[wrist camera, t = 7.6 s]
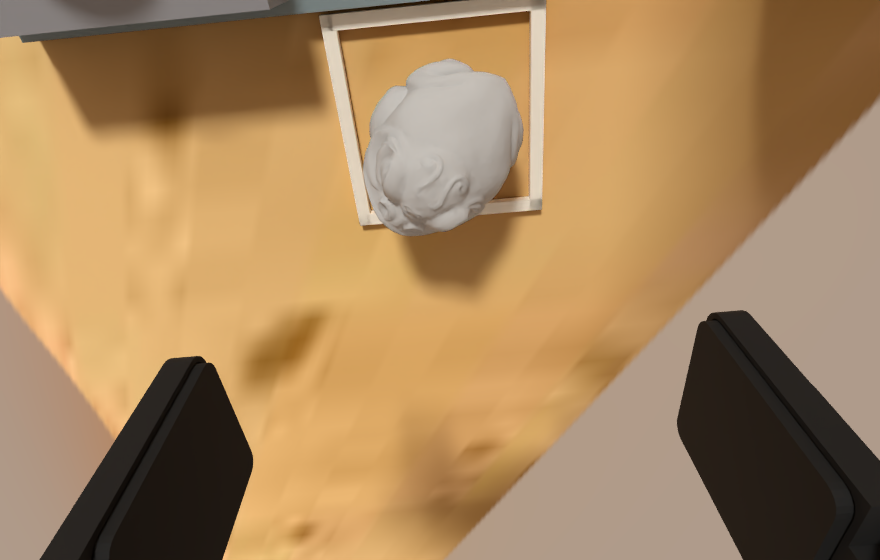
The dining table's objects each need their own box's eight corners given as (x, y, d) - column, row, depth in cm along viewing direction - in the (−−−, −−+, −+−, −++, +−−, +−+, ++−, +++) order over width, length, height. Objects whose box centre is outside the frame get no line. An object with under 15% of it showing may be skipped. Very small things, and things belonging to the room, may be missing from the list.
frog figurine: (344, 137, 24) (317, 200, 18) (438, 6, 21) (442, 33, 16) (444, 211, 26) (448, 288, 21) (542, 102, 24) (580, 156, 18)
